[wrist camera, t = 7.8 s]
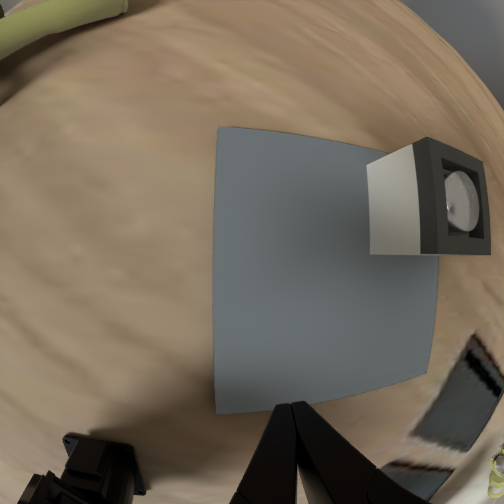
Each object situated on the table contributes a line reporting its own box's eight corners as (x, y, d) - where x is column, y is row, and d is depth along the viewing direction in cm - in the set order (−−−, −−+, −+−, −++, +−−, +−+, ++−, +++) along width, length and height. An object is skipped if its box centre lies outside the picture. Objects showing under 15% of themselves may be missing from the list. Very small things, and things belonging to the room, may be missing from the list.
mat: (420, 370, 23) (426, 373, 22) (215, 408, 19) (216, 414, 18) (426, 168, 23) (432, 166, 22) (217, 132, 19) (218, 126, 18)
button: (425, 237, 21) (480, 232, 15) (391, 234, 20) (450, 229, 14) (422, 190, 21) (475, 176, 15) (389, 183, 20) (445, 165, 14)
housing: (428, 255, 22) (490, 255, 15) (369, 254, 20) (437, 253, 13) (424, 178, 22) (482, 161, 15) (366, 165, 20) (427, 136, 13)
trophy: (513, 483, 28) (526, 449, 24) (497, 503, 26) (507, 476, 22) (497, 474, 36) (504, 439, 32) (482, 493, 34) (485, 464, 30)
